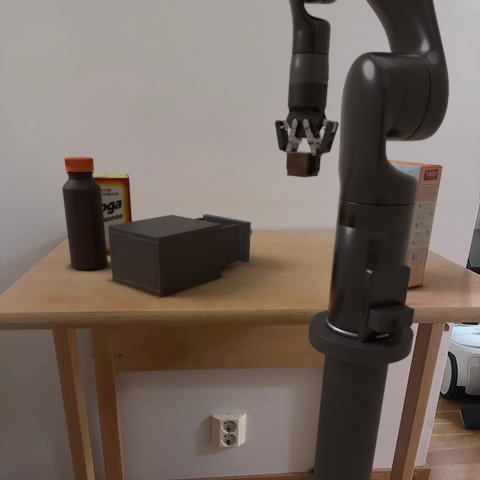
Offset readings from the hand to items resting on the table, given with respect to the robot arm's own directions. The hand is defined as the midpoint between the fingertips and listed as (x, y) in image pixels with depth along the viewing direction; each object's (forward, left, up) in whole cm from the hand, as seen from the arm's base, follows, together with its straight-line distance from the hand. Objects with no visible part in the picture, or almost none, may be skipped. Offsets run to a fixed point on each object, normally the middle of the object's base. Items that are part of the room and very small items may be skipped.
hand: (302, 174), depth 100 cm
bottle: (+5, +43, -17) cm, 47 cm away
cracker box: (-21, -7, -17) cm, 28 cm away
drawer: (-2, +21, -16) cm, 26 cm away
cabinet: (-8, +31, -17) cm, 36 cm away
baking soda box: (+16, +37, -17) cm, 44 cm away
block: (0, 0, 0) cm, 0 cm away
